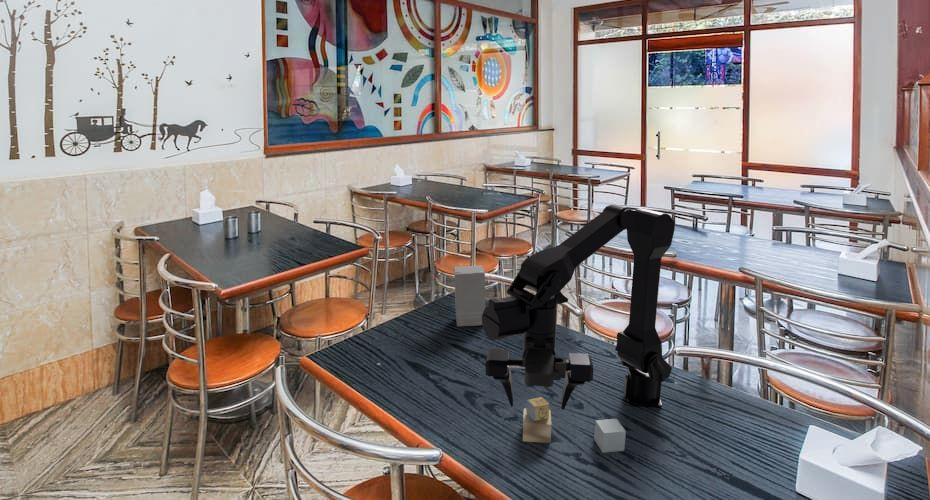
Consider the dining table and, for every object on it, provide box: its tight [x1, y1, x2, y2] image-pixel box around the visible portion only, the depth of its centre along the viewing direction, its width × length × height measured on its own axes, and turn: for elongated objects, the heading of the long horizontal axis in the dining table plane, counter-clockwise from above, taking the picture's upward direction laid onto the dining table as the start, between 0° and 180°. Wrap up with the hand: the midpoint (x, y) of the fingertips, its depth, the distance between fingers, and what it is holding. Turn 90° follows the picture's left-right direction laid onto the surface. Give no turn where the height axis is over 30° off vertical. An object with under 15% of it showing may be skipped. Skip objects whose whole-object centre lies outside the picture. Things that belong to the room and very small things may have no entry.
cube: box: [593, 418, 627, 454], centre depth 98 cm, size 4×4×4 cm
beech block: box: [522, 407, 552, 444], centre depth 102 cm, size 5×5×4 cm
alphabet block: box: [526, 396, 550, 421], centre depth 101 cm, size 3×3×3 cm
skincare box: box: [453, 265, 486, 327], centre depth 151 cm, size 8×7×16 cm
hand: (537, 406), depth 101 cm, fingers open, 9 cm apart
